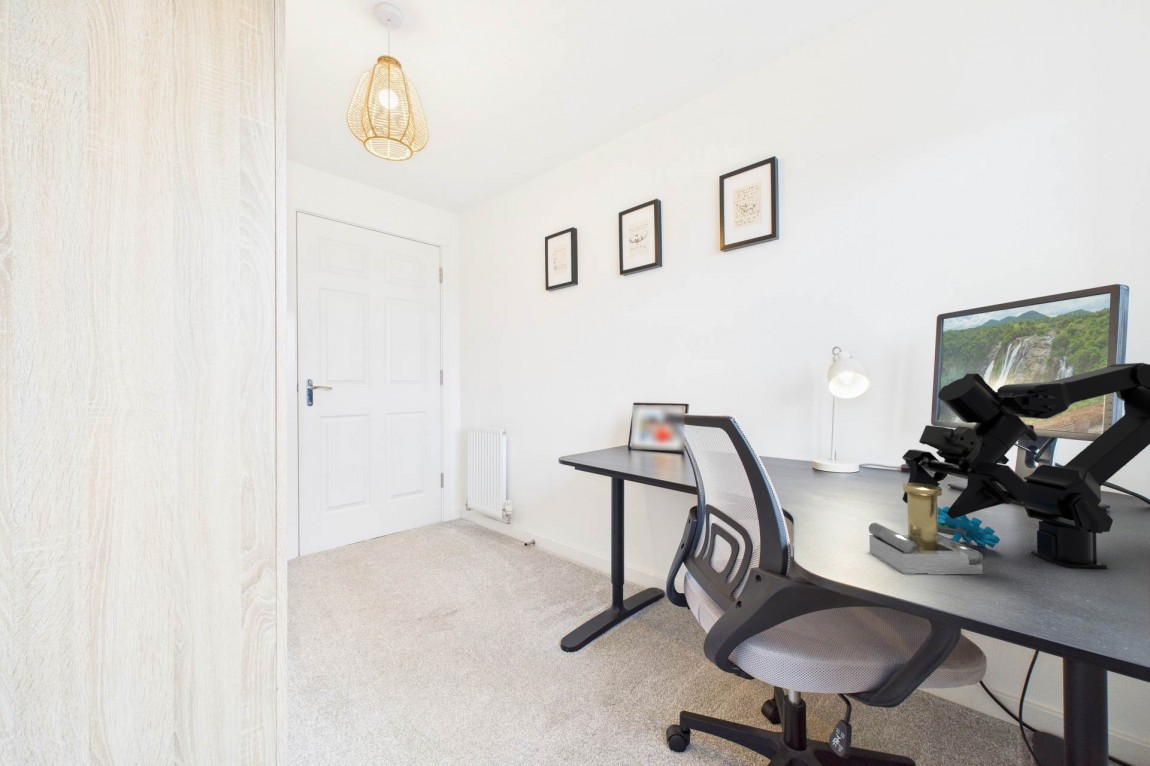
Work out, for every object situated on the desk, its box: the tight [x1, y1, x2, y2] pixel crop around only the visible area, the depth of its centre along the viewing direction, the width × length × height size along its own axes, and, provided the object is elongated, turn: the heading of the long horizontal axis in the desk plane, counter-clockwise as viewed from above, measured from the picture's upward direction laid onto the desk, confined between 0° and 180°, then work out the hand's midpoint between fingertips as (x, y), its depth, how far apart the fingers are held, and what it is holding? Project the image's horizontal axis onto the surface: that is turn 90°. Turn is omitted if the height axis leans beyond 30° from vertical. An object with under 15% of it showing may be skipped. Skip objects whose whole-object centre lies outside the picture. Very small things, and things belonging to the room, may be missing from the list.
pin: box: [902, 482, 943, 551], centre depth 75 cm, size 5×5×13 cm
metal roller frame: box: [868, 522, 984, 575], centre depth 75 cm, size 12×9×5 cm
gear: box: [938, 506, 1001, 549], centre depth 83 cm, size 11×6×10 cm
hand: (925, 508), depth 75 cm, fingers open, 9 cm apart
